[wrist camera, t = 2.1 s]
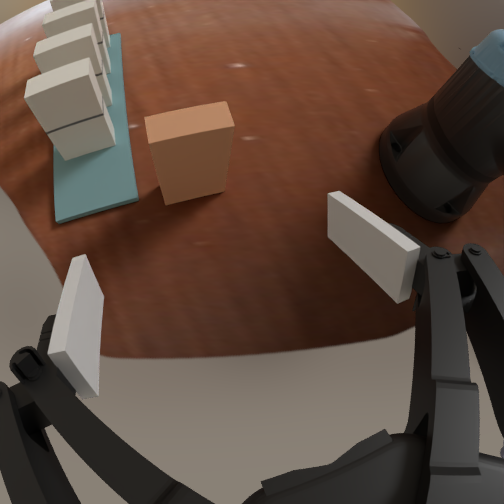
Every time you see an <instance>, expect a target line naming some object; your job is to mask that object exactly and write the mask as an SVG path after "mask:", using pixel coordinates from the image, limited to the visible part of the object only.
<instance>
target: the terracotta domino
mask: <svg viewBox="0 0 504 504" xmlns="http://www.w3.org/2000/svg"><path fill="white" fill-rule="evenodd" d="M145 124H146V130H147V136H148V142H149V146H150V150H151V154H152V158H153V162H154V166H155V169H156V173H157V177H158V181H159V184H160V188H161V191H162V195H163V198H164V202H165V205H169V204H173V203H177V202H182V201H186V200H190V199H194V198H198V197H203V196H207V195H211V194H216V193H220V192H225V186H226V179H227V172H228V166H229V159H230V153H231V146H232V140H233V134H234V127H235V125H234V122H233V119H232V117H231V114H230V111H229V108H228V105H227V102H226V101H225V102H218V103H212V104H206V105H201V106H195V107H190V108H185V109H180V110H175V111H170V112H166V113H161V114H157V115H152V116H148V117H145Z"/></svg>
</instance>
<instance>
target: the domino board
mask: <svg viewBox="0 0 504 504" xmlns="http://www.w3.org/2000/svg"><path fill="white" fill-rule="evenodd" d="M107 51H108V55H109V59H110V66H111V73H109V74H106V75H107V78H108V82H109V85H110V88H111V91H112V105H111V106H108V107H106V108H107V110H108V113H109V116H110V119H111V121H112V124H113V127H114V133H115V143H116V145H115V146H111V147H108V148H104V149H101V150H98V151H94V152H91V153H88V154H85V155H82V156H79V157H76V158H72V159H69V160H67V161H65V160H64V158H63V157H62V156H61V154H60V153H59V151H58V150H57V148H56V147H55V145H54V202H55V218H56V222H57V223H58V224H61V223H64V222H67V221H70V220H73V219H77V218H80V217H83V216H87V215H90V214H93V213H97V212H100V211H104V210H107V209H111V208H114V207H118V206H121V205H125V204H129V203H132V202H136V201H139V198H138V192H137V186H136V180H135V173H134V167H133V160H132V153H131V146H130V138H129V130H128V122H127V113H126V103H125V93H124V81H123V68H122V52H121V35H120V33H117V34H113V35H110V47H109V48H107Z"/></svg>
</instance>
